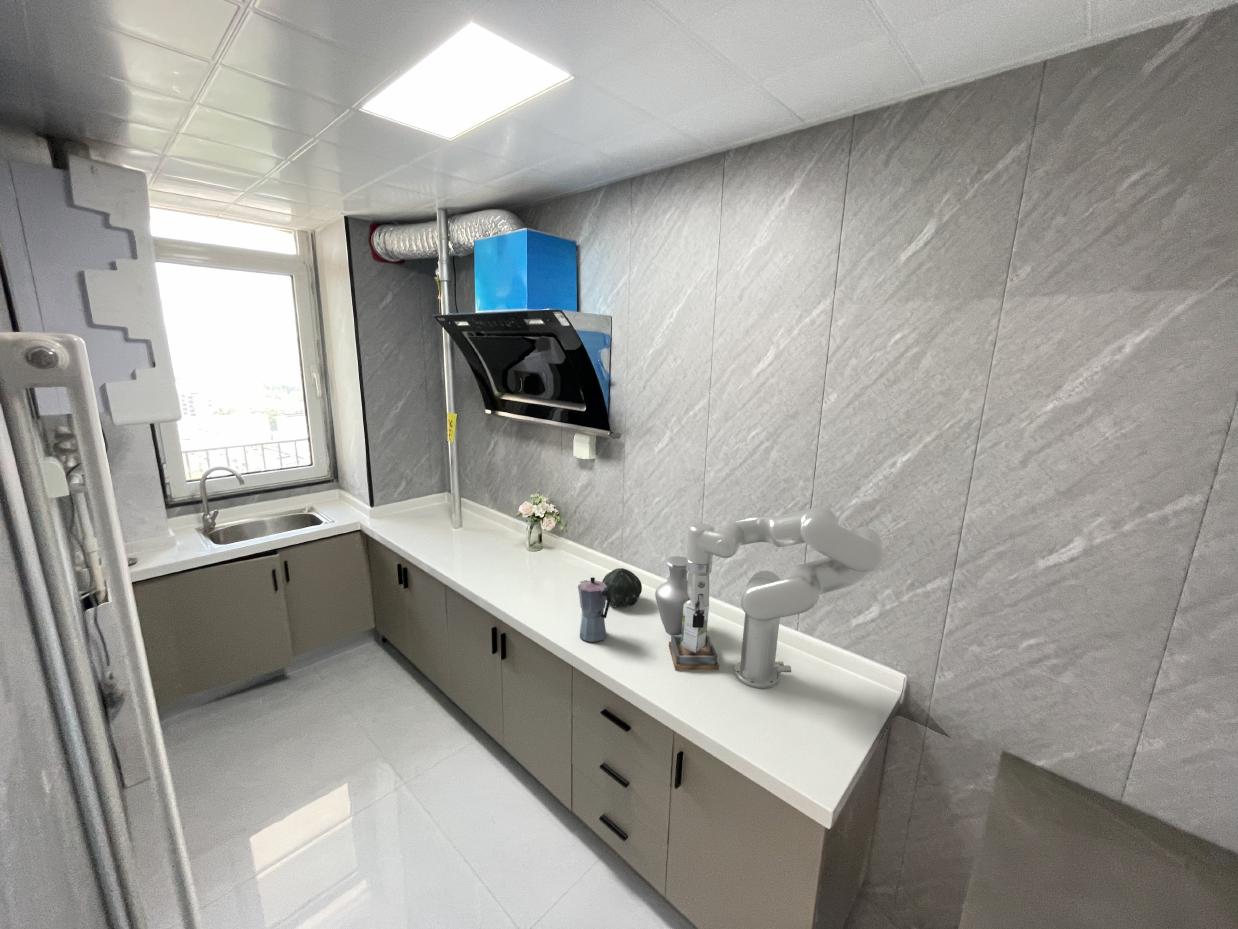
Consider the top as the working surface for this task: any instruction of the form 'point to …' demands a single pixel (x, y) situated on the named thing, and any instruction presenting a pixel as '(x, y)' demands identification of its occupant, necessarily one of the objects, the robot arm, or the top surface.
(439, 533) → the top surface
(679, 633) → the vase
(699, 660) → the dock
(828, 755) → the top surface
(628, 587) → the squash
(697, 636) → the syrup box
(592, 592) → the moka pot
